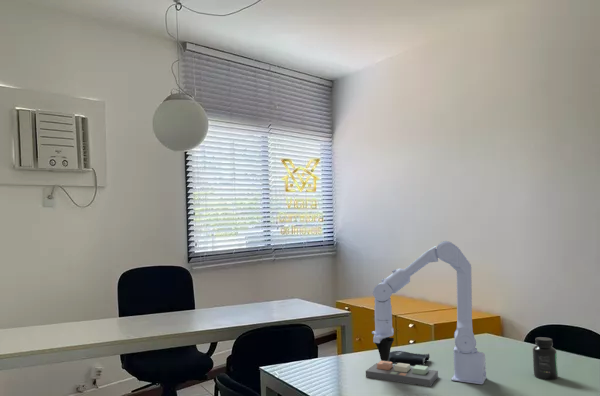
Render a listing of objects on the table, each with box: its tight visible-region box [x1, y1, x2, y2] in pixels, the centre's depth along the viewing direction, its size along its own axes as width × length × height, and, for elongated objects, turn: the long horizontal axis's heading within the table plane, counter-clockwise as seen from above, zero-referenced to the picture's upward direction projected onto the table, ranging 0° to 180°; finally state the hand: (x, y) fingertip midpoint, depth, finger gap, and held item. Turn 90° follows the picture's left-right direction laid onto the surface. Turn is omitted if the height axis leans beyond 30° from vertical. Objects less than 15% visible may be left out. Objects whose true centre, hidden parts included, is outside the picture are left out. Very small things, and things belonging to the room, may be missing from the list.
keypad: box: [365, 362, 439, 387], centre depth 155 cm, size 21×10×2 cm, turn 60°
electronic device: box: [388, 350, 431, 366], centre depth 173 cm, size 9×6×15 cm
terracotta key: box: [376, 360, 394, 370], centre depth 159 cm, size 4×4×2 cm
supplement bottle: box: [532, 336, 559, 381], centre depth 153 cm, size 7×7×12 cm
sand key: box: [394, 363, 411, 373], centre depth 156 cm, size 4×4×2 cm
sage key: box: [412, 365, 429, 375], centre depth 153 cm, size 4×4×2 cm
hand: (384, 360), depth 159 cm, fingers closed
